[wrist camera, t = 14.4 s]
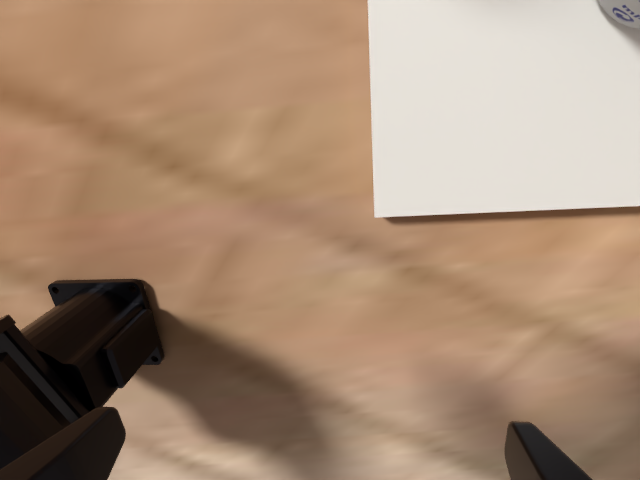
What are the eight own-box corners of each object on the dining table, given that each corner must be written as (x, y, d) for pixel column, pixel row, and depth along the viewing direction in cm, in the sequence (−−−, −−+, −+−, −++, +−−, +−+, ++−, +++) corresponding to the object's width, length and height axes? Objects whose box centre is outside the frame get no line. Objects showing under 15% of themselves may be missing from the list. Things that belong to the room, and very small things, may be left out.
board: (374, 210, 19) (374, 217, 18) (363, -125, 14) (363, -143, 13) (710, 195, 17) (734, 201, 16) (842, -210, 12) (889, -240, 11)
